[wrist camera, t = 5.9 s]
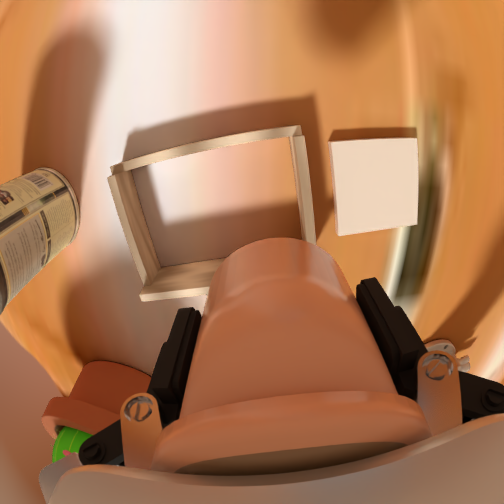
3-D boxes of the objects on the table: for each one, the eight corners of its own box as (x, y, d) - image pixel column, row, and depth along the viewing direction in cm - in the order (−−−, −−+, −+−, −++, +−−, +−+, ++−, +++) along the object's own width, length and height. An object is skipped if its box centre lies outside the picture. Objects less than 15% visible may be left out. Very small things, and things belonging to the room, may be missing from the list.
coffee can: (30, 247, 28) (-37, 309, 16) (16, 171, 24) (-69, 213, 11) (88, 252, 28) (17, 330, 16) (75, 162, 24) (-24, 208, 11)
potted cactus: (186, 432, 46) (171, 541, 24) (86, 403, 44) (51, 499, 22) (194, 370, 37) (167, 540, 14) (60, 331, 35) (-10, 460, 12)
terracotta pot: (352, 214, 10) (481, 381, 3) (353, 342, 13) (397, 487, 6) (179, 244, 11) (88, 431, 4) (221, 362, 14) (205, 510, 7)
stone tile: (411, 137, 23) (417, 138, 22) (412, 221, 27) (416, 224, 26) (328, 141, 23) (331, 142, 22) (335, 232, 27) (338, 236, 26)
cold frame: (296, 125, 23) (306, 126, 18) (311, 252, 28) (321, 278, 24) (121, 162, 24) (96, 172, 20) (156, 274, 30) (142, 301, 25)
